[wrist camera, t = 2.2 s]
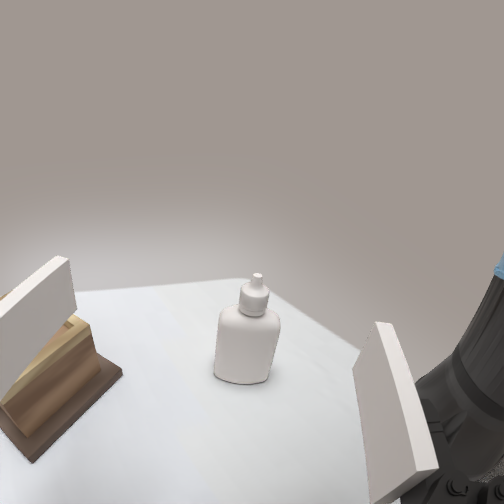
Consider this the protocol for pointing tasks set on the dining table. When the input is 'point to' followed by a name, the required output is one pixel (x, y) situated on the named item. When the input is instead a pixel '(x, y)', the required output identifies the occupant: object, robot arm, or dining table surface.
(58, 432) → the display pedestal
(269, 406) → the dining table surface
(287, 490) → the dining table surface
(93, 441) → the dining table surface
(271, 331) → the eye dropper bottle
